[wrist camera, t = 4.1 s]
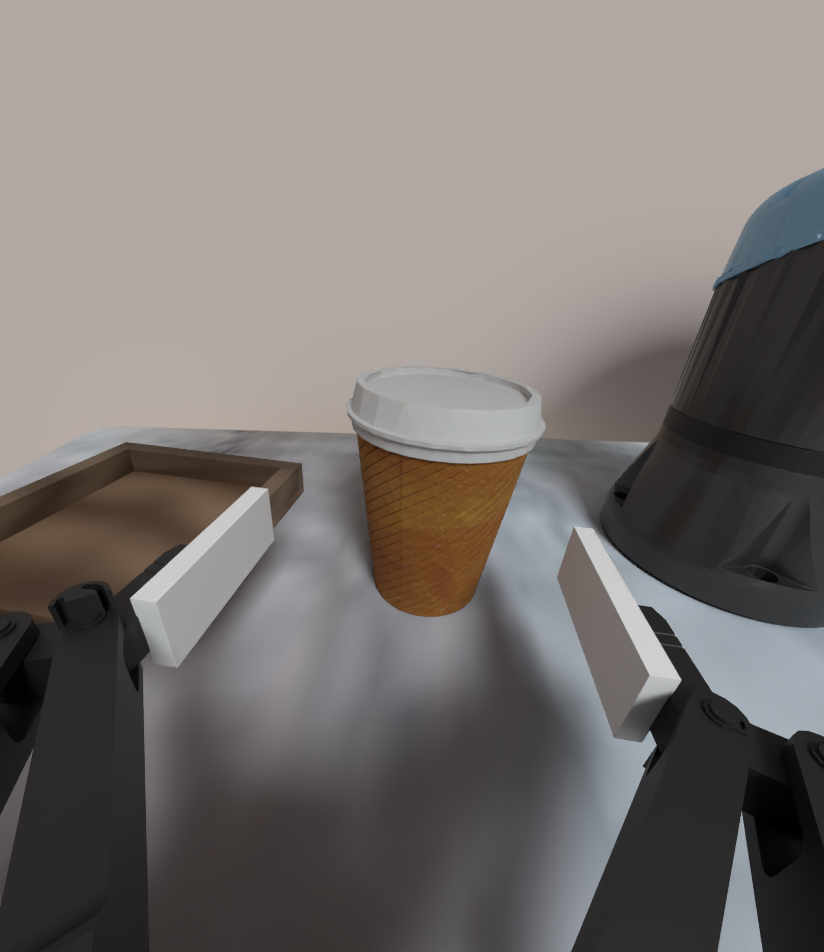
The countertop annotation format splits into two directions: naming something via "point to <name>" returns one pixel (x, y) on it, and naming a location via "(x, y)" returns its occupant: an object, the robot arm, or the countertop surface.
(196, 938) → the countertop surface
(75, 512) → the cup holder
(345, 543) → the countertop surface
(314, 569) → the countertop surface
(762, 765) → the robot arm
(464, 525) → the disposable coffee cup
